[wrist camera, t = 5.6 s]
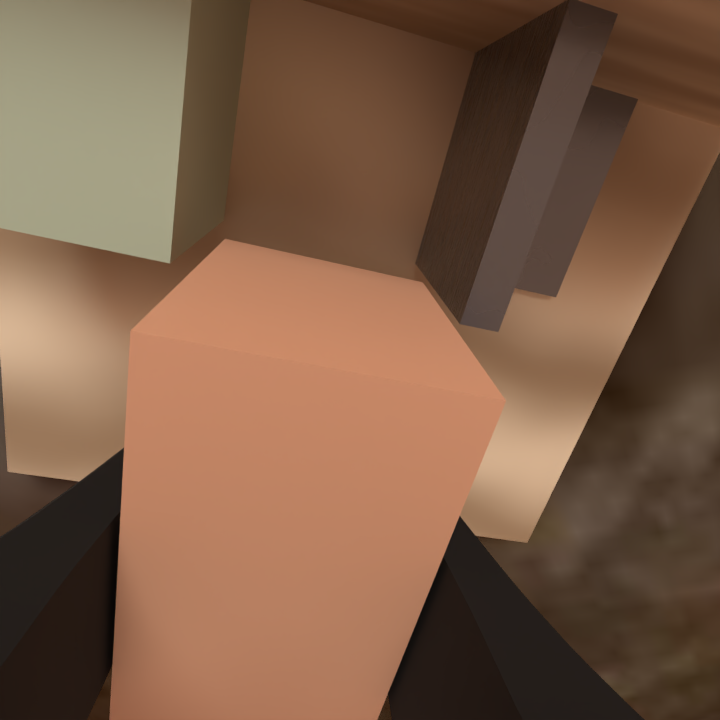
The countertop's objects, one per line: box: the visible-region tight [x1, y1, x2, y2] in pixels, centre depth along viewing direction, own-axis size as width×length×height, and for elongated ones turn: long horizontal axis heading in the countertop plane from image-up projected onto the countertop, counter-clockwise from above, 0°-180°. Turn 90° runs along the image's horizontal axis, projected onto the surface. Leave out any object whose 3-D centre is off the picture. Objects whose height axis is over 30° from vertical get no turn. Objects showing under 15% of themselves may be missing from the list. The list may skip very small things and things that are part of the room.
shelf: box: [0, 0, 720, 543], centre depth 11 cm, size 16×18×8 cm
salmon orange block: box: [110, 239, 506, 720], centre depth 9 cm, size 7×4×5 cm, turn 167°
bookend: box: [415, 0, 638, 332], centre depth 11 cm, size 5×4×5 cm
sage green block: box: [0, 0, 251, 263], centre depth 9 cm, size 5×4×5 cm
